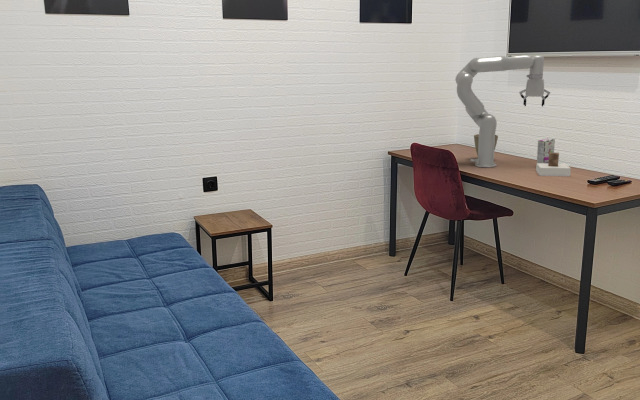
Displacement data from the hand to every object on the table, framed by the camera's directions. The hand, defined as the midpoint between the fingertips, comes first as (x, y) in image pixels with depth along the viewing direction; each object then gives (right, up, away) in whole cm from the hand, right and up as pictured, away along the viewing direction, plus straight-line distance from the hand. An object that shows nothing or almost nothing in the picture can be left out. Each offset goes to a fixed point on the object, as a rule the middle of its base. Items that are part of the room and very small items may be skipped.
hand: (533, 106), depth 349 cm
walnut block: (+4, -36, -18) cm, 41 cm away
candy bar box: (+8, -36, +3) cm, 37 cm away
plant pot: (-21, -30, +28) cm, 47 cm away
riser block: (+4, -41, -17) cm, 45 cm away
